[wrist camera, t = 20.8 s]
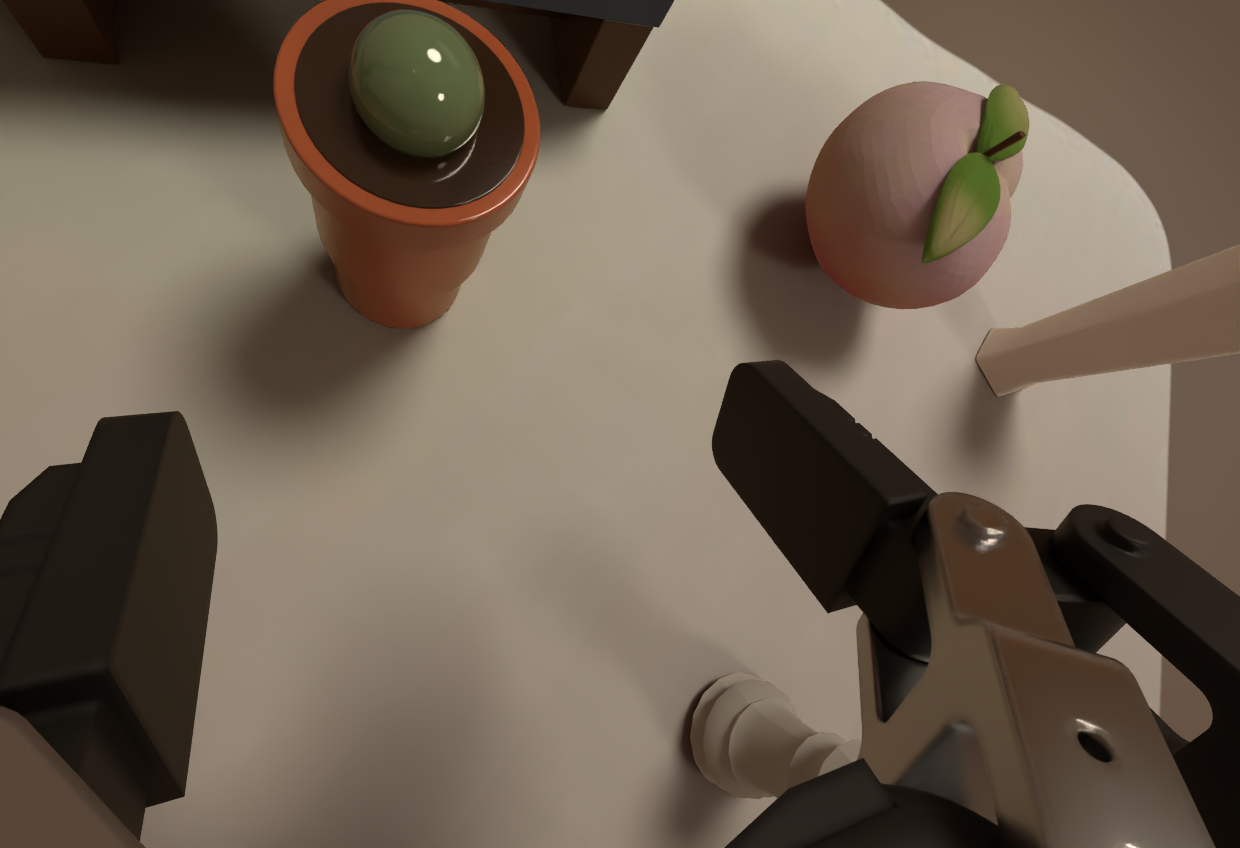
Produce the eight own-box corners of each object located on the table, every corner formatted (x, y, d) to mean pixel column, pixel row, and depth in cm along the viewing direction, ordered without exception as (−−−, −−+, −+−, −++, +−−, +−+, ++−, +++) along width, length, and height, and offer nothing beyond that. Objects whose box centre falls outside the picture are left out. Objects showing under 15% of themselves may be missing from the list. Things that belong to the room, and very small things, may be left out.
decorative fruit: (787, 128, 31) (960, -37, 22) (906, 212, 33) (1109, 95, 24) (731, 283, 28) (901, 169, 19) (865, 363, 31) (1074, 295, 22)
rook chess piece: (668, 703, 24) (795, 780, 17) (755, 650, 26) (905, 699, 19) (708, 809, 24) (853, 933, 17) (793, 749, 26) (957, 837, 19)
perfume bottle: (1014, 422, 34) (1449, 354, 20) (964, 368, 33) (1382, 260, 19) (1042, 362, 36) (1463, 262, 22) (995, 310, 35) (1402, 172, 21)
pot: (308, 336, 22) (238, 141, 10) (321, 185, 22) (271, -141, 11) (473, 353, 24) (561, 205, 13) (480, 214, 24) (567, -38, 13)
